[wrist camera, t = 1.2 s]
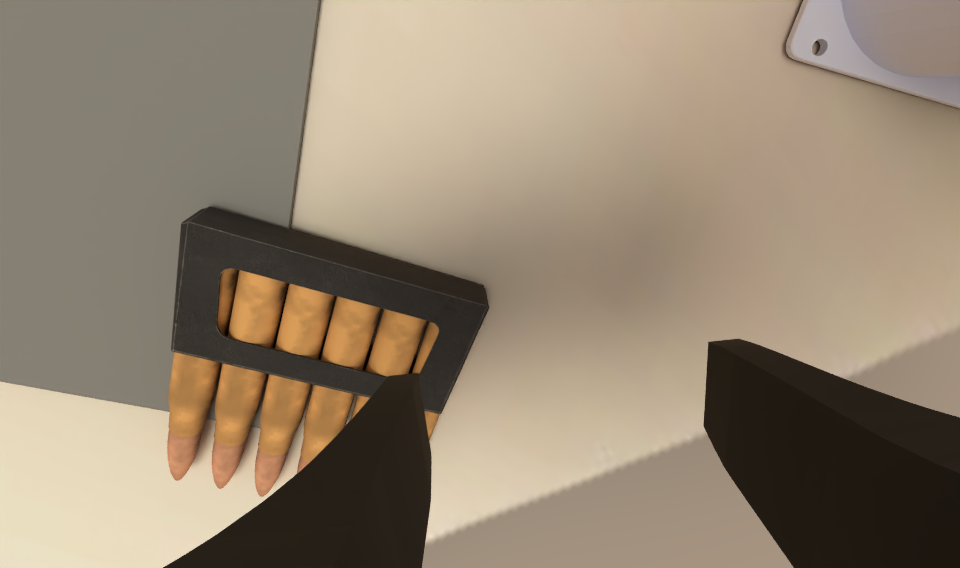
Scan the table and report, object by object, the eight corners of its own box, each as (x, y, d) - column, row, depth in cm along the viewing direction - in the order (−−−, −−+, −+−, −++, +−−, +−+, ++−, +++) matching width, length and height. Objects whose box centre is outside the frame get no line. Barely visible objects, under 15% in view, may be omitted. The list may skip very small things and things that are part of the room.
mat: (335, -113, 16) (333, -116, 16) (264, 424, 23) (261, 428, 23) (-340, -318, 14) (-355, -326, 14) (-205, 339, 21) (-214, 342, 21)
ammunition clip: (203, 204, 19) (164, 459, 23) (180, 219, 17) (142, 491, 22) (485, 286, 21) (402, 506, 25) (490, 306, 19) (399, 538, 24)
